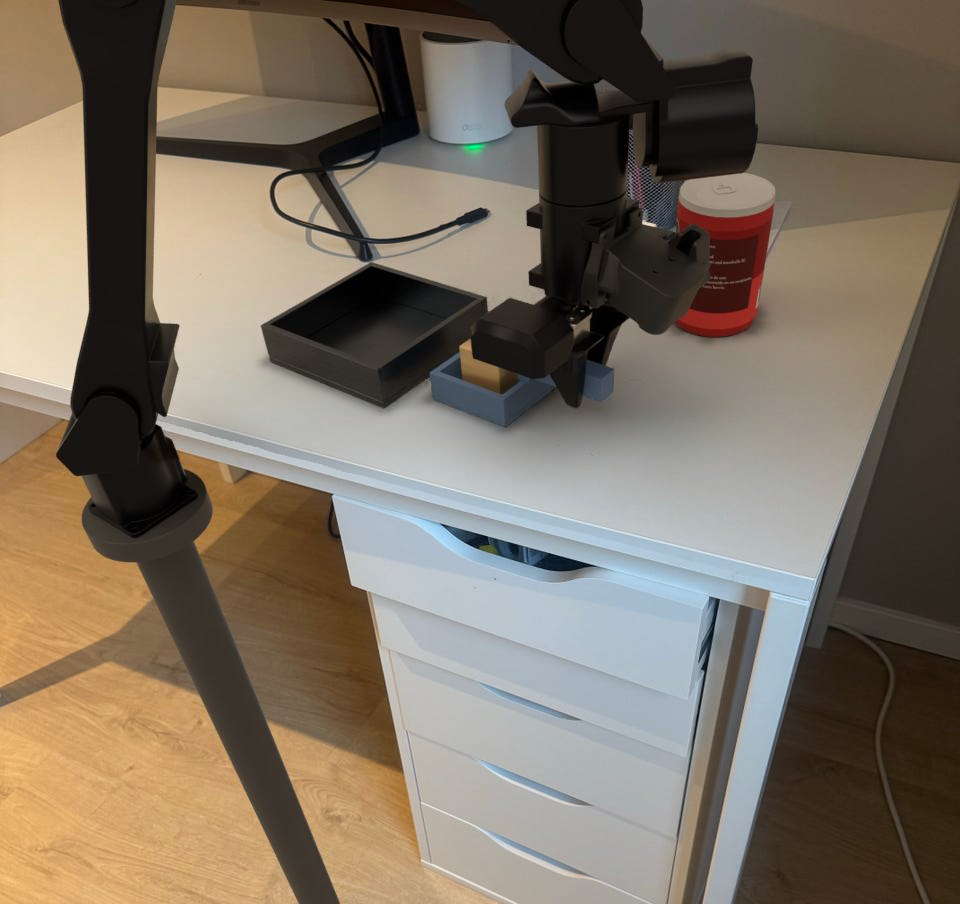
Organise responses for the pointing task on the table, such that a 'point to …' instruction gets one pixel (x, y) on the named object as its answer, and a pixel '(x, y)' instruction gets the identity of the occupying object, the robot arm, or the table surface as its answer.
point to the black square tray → (374, 332)
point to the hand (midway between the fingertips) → (581, 399)
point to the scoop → (509, 391)
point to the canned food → (728, 249)
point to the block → (485, 372)
